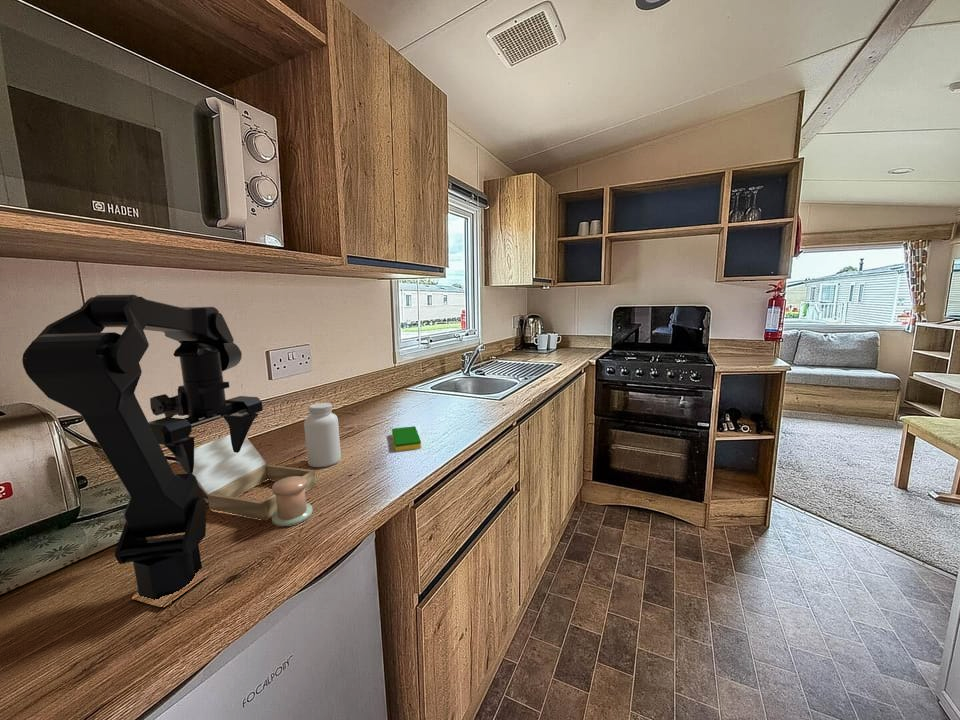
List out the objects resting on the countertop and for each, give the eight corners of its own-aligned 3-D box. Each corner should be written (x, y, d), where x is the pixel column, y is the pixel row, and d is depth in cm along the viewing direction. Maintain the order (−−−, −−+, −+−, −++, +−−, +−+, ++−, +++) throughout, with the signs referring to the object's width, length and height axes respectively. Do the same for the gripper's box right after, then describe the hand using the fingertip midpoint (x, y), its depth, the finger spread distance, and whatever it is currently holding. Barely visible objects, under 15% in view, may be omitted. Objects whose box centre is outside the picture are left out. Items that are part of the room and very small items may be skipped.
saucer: (294, 529, 69) (294, 525, 69) (263, 523, 71) (263, 519, 71) (320, 508, 76) (320, 505, 76) (291, 504, 78) (290, 500, 78)
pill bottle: (340, 453, 103) (336, 399, 101) (341, 465, 96) (337, 407, 93) (308, 458, 100) (303, 403, 98) (307, 470, 93) (301, 411, 91)
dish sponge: (395, 453, 104) (394, 444, 104) (392, 435, 117) (391, 428, 117) (421, 449, 106) (421, 441, 105) (415, 433, 119) (415, 425, 119)
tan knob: (294, 523, 70) (290, 492, 69) (268, 518, 71) (264, 488, 70) (315, 506, 75) (312, 477, 74) (291, 502, 77) (288, 474, 76)
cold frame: (264, 521, 72) (258, 464, 70) (184, 507, 77) (176, 454, 75) (316, 485, 86) (312, 437, 84) (245, 475, 91) (239, 429, 89)
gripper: (216, 367, 78) (226, 439, 81) (108, 388, 61) (124, 480, 63) (260, 369, 75) (268, 444, 78) (159, 392, 58) (174, 488, 60)
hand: (214, 461), depth 70 cm, fingers open, 9 cm apart
